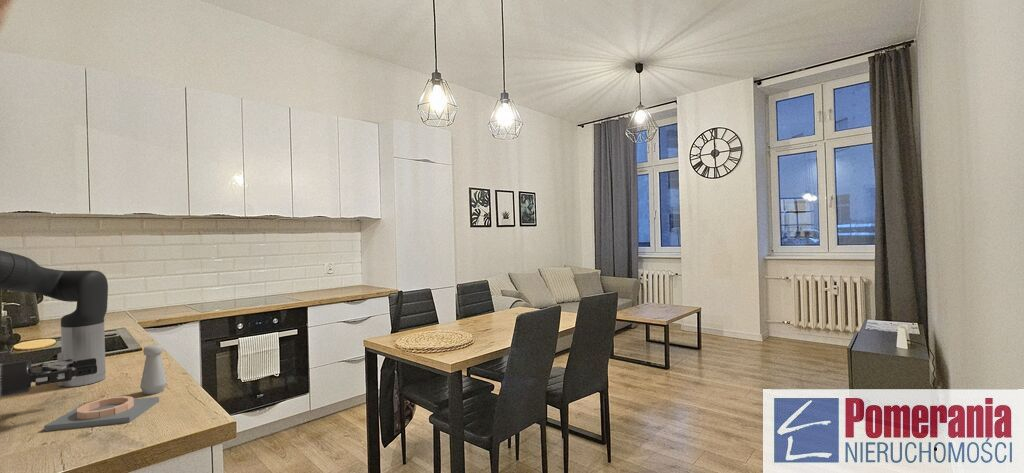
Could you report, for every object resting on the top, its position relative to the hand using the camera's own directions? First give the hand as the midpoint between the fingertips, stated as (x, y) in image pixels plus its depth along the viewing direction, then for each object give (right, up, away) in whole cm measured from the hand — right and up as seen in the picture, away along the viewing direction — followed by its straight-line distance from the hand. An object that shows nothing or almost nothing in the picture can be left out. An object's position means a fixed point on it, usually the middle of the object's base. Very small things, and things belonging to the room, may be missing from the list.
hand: (96, 365), depth 113 cm
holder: (+9, -10, -7) cm, 15 cm away
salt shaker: (+8, -10, +8) cm, 15 cm away
